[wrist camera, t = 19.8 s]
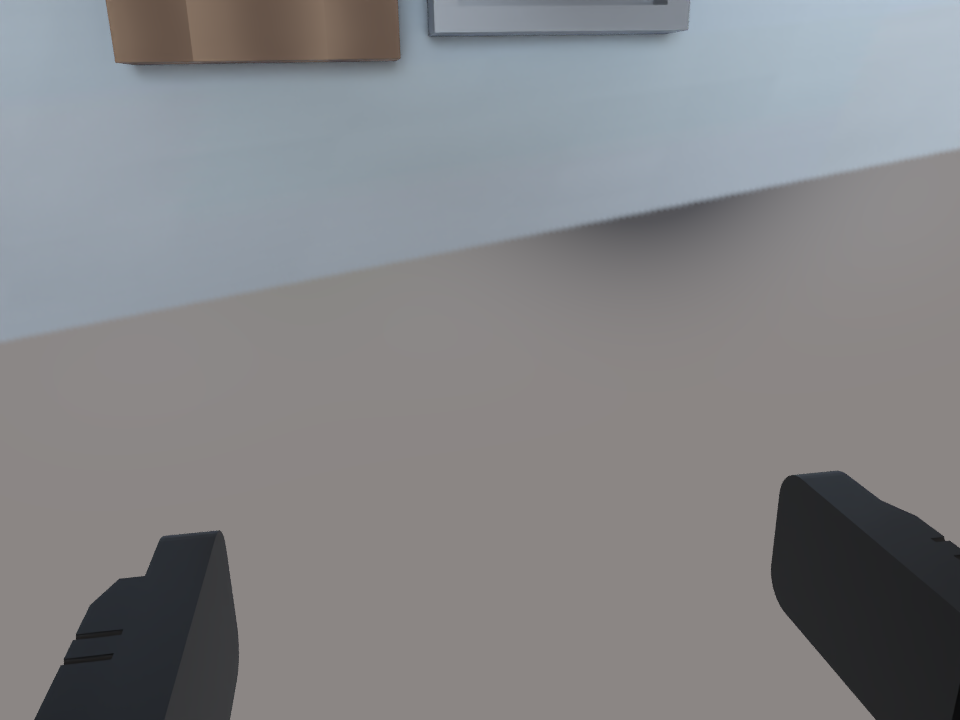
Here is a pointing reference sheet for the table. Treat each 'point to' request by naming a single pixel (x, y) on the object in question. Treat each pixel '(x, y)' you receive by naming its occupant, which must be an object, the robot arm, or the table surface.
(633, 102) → the table surface
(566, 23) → the grey tray
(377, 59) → the walnut block
